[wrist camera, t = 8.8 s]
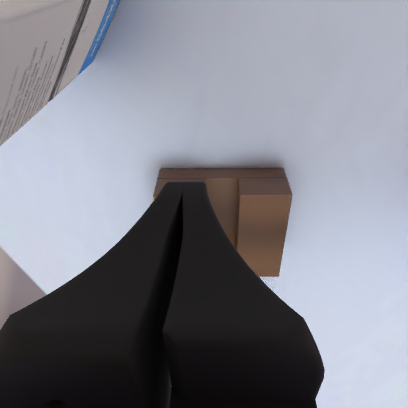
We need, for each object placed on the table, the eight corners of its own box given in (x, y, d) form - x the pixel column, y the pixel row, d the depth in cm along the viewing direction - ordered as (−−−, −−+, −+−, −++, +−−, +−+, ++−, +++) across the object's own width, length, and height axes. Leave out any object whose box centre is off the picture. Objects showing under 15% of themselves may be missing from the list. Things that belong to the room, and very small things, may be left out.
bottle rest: (272, 246, 26) (278, 276, 24) (168, 246, 26) (164, 276, 24) (283, 167, 22) (292, 194, 19) (159, 168, 22) (153, 195, 20)
